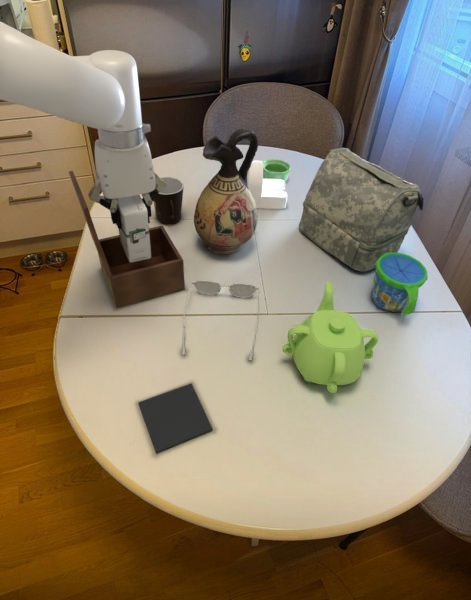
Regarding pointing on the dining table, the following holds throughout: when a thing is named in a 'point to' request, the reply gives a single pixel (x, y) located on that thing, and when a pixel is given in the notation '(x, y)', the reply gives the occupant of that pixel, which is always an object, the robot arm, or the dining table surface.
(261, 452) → the dining table surface
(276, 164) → the ramekin
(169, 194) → the coffee mug
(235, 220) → the ceramic jug
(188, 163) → the dining table surface
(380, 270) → the sippy cup
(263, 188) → the bracket
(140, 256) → the ink box
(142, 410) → the mat
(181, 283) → the chest
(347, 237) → the lunch bag
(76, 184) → the lid
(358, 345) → the teapot
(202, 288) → the eyeglasses
